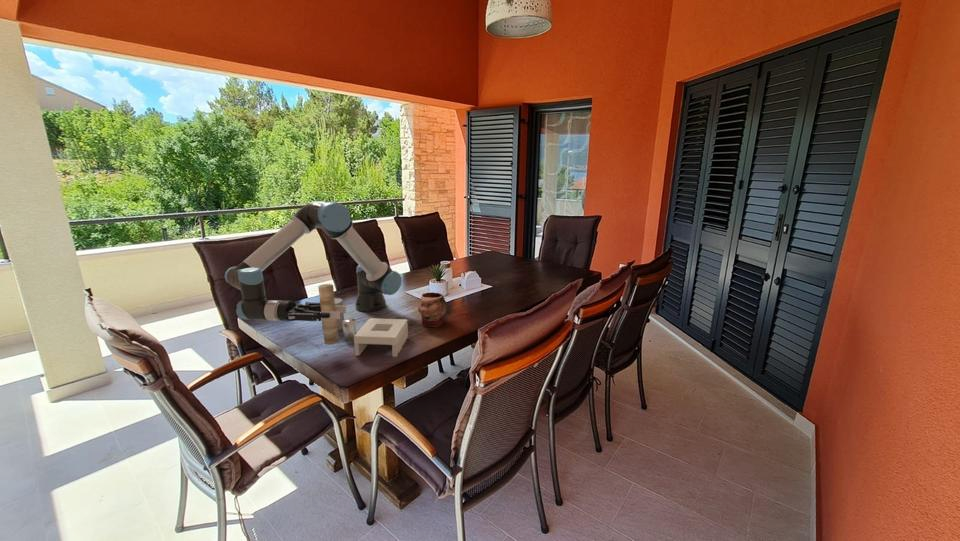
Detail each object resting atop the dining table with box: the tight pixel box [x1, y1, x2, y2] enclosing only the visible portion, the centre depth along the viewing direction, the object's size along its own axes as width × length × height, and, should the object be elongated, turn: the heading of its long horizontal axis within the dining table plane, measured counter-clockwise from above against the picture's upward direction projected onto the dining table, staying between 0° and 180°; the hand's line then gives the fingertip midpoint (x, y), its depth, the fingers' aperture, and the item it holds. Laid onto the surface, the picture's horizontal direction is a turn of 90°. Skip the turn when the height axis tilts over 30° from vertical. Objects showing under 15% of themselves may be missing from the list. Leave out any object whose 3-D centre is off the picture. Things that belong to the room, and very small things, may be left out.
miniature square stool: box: [353, 317, 409, 358], centre depth 153 cm, size 18×16×8 cm
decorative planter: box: [417, 292, 448, 328], centre depth 177 cm, size 20×12×14 cm, turn 168°
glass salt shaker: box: [342, 317, 357, 342], centre depth 160 cm, size 5×5×8 cm
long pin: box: [317, 283, 340, 346], centre depth 141 cm, size 5×5×22 cm
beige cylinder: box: [321, 297, 345, 331], centre depth 171 cm, size 10×10×12 cm
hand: (342, 312), depth 141 cm, fingers closed on long pin, 5 cm apart
